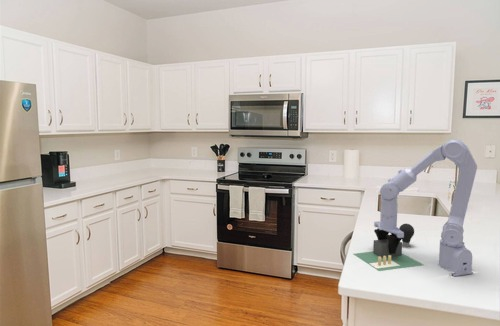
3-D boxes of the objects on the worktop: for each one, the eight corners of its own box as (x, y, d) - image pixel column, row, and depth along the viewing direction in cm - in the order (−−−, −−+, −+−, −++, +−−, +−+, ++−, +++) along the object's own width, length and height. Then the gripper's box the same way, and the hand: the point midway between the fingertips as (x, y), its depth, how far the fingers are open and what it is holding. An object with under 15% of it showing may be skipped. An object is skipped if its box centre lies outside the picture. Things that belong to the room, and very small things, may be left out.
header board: (424, 267, 119) (424, 256, 119) (378, 273, 115) (379, 262, 114) (393, 251, 135) (394, 241, 134) (352, 256, 130) (353, 246, 130)
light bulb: (409, 245, 141) (410, 221, 140) (416, 250, 136) (417, 225, 134) (395, 245, 141) (396, 222, 140) (402, 250, 135) (403, 225, 134)
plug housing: (401, 255, 128) (402, 242, 127) (381, 258, 126) (381, 244, 125) (392, 250, 133) (393, 238, 132) (373, 253, 130) (373, 240, 130)
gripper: (367, 211, 133) (366, 245, 135) (392, 221, 119) (390, 259, 121) (383, 209, 135) (382, 243, 137) (409, 219, 121) (407, 256, 123)
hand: (387, 250), depth 129 cm, fingers closed on plug housing, 5 cm apart
